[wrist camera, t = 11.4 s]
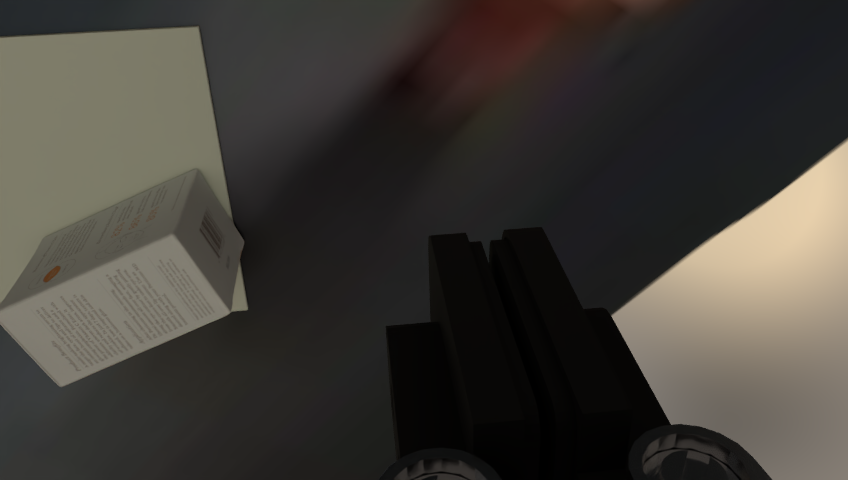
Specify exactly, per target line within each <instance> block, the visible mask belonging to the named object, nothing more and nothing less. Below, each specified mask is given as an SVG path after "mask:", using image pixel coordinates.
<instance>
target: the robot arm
mask: <svg viewBox="0 0 848 480" xmlns="http://www.w3.org/2000/svg"><path fill="white" fill-rule="evenodd" d="M428 252H429V285H430V319H431V322H428V323H417V324H405V325H393V326H386V338H387V353H388V368H389V382H390V395H391V407H392V418H393V429H394V439H395V449H396V459H397V461H396V462H395V463H393V464H392V465H390V466H389V467H388V468H387V470H386V471H385V472H384V474H383V475H382V476H381V477H380V479H379V480H772V479H771V478H770V477H769V475H768V474H767V473H766V472H765V471H764V470H763V468H762V467H761V466H760V465H759V464H758V463H757V461H756V460H755V459H754V458H753V457H752V456H751V455H750V454H749V453H748V452H747V451H746V450H744V449H743V448H742V447H741V446H740V445H739V444H738V443H736V442H734V441H733V440H731V439H729V438H727V437H726V436H724V435H722V434H720V433H717V432H715V431H712V430H708V429H706V428H702V427H699V426H690V425H683V424H676V425H671V424H670V422H669V420H668V419H667V417H666V415H665V413H664V411H663V410H662V408H661V406H660V404H659V402H658V400H657V399H656V397H655V395H654V393H653V391H652V390H651V388H650V386H649V384H648V382H647V380H646V379H645V377H644V375H643V373H642V371H641V369H640V368H639V366H638V364H637V362H636V360H635V359H634V357H633V355H632V353H631V351H630V349H629V348H628V346H627V344H626V342H625V340H624V339H623V337H622V335H621V333H620V331H619V330H618V328H617V326H616V324H615V322H614V320H613V319H612V317H611V315H610V314H609V312H608V311H607V310H606V309H604V308H592V309H583V308H582V306H581V304H580V302H579V300H578V298H577V296H576V294H575V292H574V290H573V288H572V286H571V284H570V282H569V280H568V278H567V276H566V274H565V272H564V270H563V268H562V266H561V264H560V262H559V260H558V258H557V256H556V254H555V252H554V250H553V248H552V246H551V244H550V242H549V240H548V238H547V236H546V234H545V232H544V230H543V229H542V227H535V228H522V229H509V230H504V232H503V235H502V240H491V242H490V252H489V263H488V260H487V257H486V254H485V251H484V249H483V246H482V243H481V242H480V241H478V242H469V240H468V237H467V235H466V233H457V234H444V235H431V236H429V240H428Z"/></svg>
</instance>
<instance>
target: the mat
mask: <svg viewBox="0 0 848 480" xmlns="http://www.w3.org/2000/svg"><path fill="white" fill-rule="evenodd" d="M194 169H198V170H199V171H200V173H201V175H202V176H203V178H204V179H205V181H206V182H207V184H208V186H209V187H210V189H211V190H212V192H213V193H214V195H215V196H216V198H217V199H218V201H219V203H220V204H221V206H222V207H223V209H224V210H225V212H226V213H227V215H228V216H229V218H230V219H231V221H232V223H233V217H232V211H231V206H230V200H229V194H228V188H227V183H226V177H225V171H224V165H223V160H222V154H221V148H220V142H219V137H218V131H217V125H216V120H215V114H214V108H213V102H212V97H211V91H210V85H209V79H208V74H207V68H206V62H205V56H204V51H203V45H202V39H201V33H200V28H199V26H183V27H164V28H146V29H127V30H109V31H90V32H72V33H54V34H35V35H17V36H0V303H1V302H2V301H3V300H4V298H5V297H6V295H7V294H8V293H9V291H10V290H11V288H12V287H13V285H14V284H15V282H16V281H17V279H18V278H19V276H20V275H21V273H22V272H23V270H24V269H25V267H26V266H27V264H28V263H29V261H30V260H31V258H32V257H33V255H34V254H35V252H36V250H37V249H38V246H39V245H40V243H41V241H42V239H43V238H44V237H47V236H49V235H51V234H53V233H56V232H58V231H60V230H62V229H64V228H67V227H69V226H71V225H73V224H75V223H78V222H80V221H82V220H84V219H86V218H88V217H91V216H93V215H95V214H97V213H99V212H101V211H103V210H106V209H108V208H110V207H112V206H114V205H116V204H119V203H121V202H123V201H125V200H127V199H129V198H132V197H134V196H136V195H138V194H141V193H143V192H145V191H147V190H149V189H152V188H154V187H156V186H158V185H160V184H162V183H165V182H167V181H170V180H172V179H174V178H176V177H178V176H180V175H183V174H185V173H187V172H190V171H192V170H194ZM233 224H234V223H233ZM241 310H248V303H247V298H246V292H245V286H244V280H243V275H242V269H241V263H240V262H239V267H238V272H237V277H236V283H235V288H234V293H233V304H232V310H231V311H241Z"/></svg>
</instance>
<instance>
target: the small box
mask: <svg viewBox="0 0 848 480" xmlns="http://www.w3.org/2000/svg"><path fill="white" fill-rule="evenodd" d="M243 246H244V240H243V238H242V237H241V235H240V233H239V232H238V230H237V229H236V227H235V226H234V224H233V223H232V221H231V219H230V218H229V216H228V215H227V213H226V212H225V210H224V209H223V207H222V206H221V204H220V203H219V201H218V199H217V198H216V196H215V195H214V193H213V192H212V190H211V189H210V187H209V186H208V184H207V182H206V181H205V179H204V178H203V176H202V175H201V173H200V171H199V170H198V169H194V170H192V171H190V172H187V173H185V174H183V175H180V176H178V177H176V178H174V179H172V180H170V181H167V182H165V183H162V184H160V185H158V186H156V187H154V188H152V189H149V190H147V191H145V192H143V193H141V194H138V195H136V196H134V197H132V198H129V199H127V200H125V201H123V202H121V203H119V204H116V205H114V206H112V207H110V208H108V209H106V210H103V211H101V212H99V213H97V214H95V215H93V216H91V217H88V218H86V219H84V220H82V221H80V222H78V223H75V224H73V225H71V226H69V227H67V228H64V229H62V230H60V231H58V232H56V233H53V234H51V235H49V236H47V237H44V238H43V239H42V241H41V243H40V245H39V246H38V249H37V250H36V252H35V254H34V255H33V257H32V258H31V260H30V261H29V263H28V264H27V266H26V267H25V269H24V270H23V272H22V273H21V275H20V276H19V278H18V279H17V281H16V282H15V284H14V285H13V287H12V288H11V290H10V291H9V293H8V294H7V295H6V297H5V298H4V300H3V301H2V302H1V303H0V325H1V326H2V327H3V328H4V329H5V330H6V331H7V332H8V333H9V334H10V335H11V336H12V337H13V338H14V339H15V341H16V342H17V343H18V344H19V345H20V346H21V347H22V348H23V349H24V350H25V351H26V352H27V353H28V354H29V355H30V357H31V358H32V359H33V360H34V361H35V362H36V363H37V364H38V365H39V366H40V367H41V368H42V369H43V370H44V371H45V372H46V374H47V375H48V376H49V377H50V378H51V379H52V380H53V381H54V382H55V383H56V384H57V385H58V386H60V387H63V386H66V385H68V384H70V383H72V382H75V381H77V380H79V379H82V378H84V377H86V376H89V375H91V374H93V373H95V372H98V371H100V370H102V369H105V368H107V367H109V366H112V365H114V364H116V363H118V362H121V361H123V360H125V359H128V358H130V357H132V356H134V355H137V354H139V353H141V352H144V351H146V350H148V349H151V348H153V347H155V346H158V345H160V344H162V343H165V342H167V341H169V340H172V339H174V338H176V337H178V336H181V335H183V334H185V333H187V332H190V331H192V330H194V329H197V328H199V327H201V326H203V325H206V324H208V323H210V322H213V321H215V320H218V319H220V318H222V317H225V316H227V315H228V314H230V313H231V310H232V304H233V293H234V288H235V283H236V277H237V272H238V267H239V262H240V257H241V253H242V249H243Z"/></svg>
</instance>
